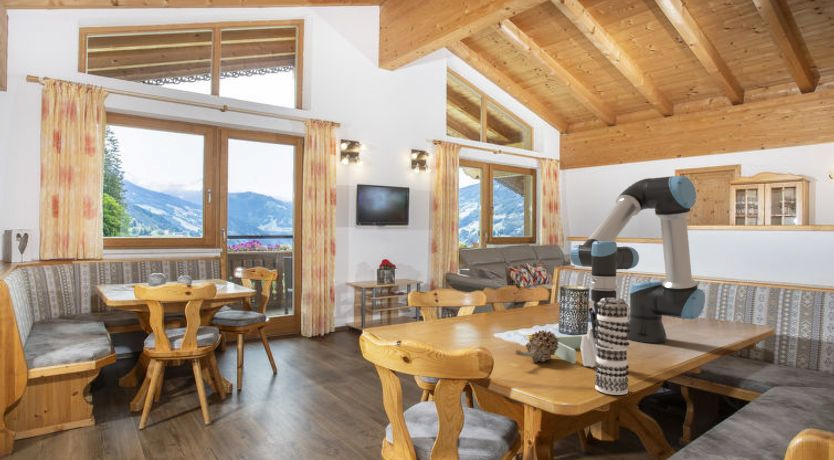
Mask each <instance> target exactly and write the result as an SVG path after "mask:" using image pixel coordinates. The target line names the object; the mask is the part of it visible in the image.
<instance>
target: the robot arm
mask: <svg viewBox="0 0 834 460" xmlns="http://www.w3.org/2000/svg"><path fill="white" fill-rule="evenodd" d="M696 199H697V192H696V187H695V184H694V183H693V182H692V180H691V179H690V178H689V177H687V176H684V175H683V176H681V175H678V176H677V175H672V176H662V177H650V178H649V177H648V178H644V179H640V180H638V181H635V182H634V183H632V184H631V185H629V186H628V187H627V188H625V189H624V190H623V191H622V192H621V193H620V194H619V195H618V197H617V198H616V199H615V205H614V206H613V208H612V207H611V208H612V209H610V211H609V212H608V214H606V216H605V217H604V218H603V219H602V221H601V222H600V223H599V224H598V226H597V227H596V228H595V230H594V231H593V232H592V233H591V235H589V237H588V238H587V240H585V242H584V243H583V244H576V245H574V246H572V247H571V250H570V252H569V259H570V262H572V264H573V265H574V266H577V267H579V266H580V267H584V268H585V267H586V268H587V267H588V268H591V280H590V281H591V286H590V287H591V288H592V289H591V292H590V300H591V302H593V306H592V307H589V308H588V312H589V315H590V323H591V329H592V331H593V337H594V338H596V336H595V333H596V331H595V327H597V325H596V324H595V323H594V322H595V320H596V318H597V314H598V304H597V303H599V302H600V300H601V299H602V298H617V290H616V289H617V286H618V285H617V271H618V270H629V269H633V268H635V267H636V266H638V264H639V261H640V255H639V253H638V251H637V249H635V248H634V247H631V246H624V245H623V246H618V244H617V242H616V241H615V240H616V239H617V237H618V236H619V234H621V232H622V230H623V229H624V228H625V227H626V225H628V223H629V222H630V220H631V219H632V218H633V217H634V216H637V215H638V214H639V213H640V212H641V211H643V210H649V209H650V210H651V209H652V210H654V211H655V212H654V213H655V216H657V218H659V220H660V228H661V229H660V230H661V231H660V232H661V240H662V248H663V249H662V250H663V259H664V260H663V261H664V270H665V271H664V272H665V280H664V281H663V282H662V281H641V282H633V283H632V284H631V285H630V290H629V297H630V298H629V303H630V304H629V319H628V323H629V324H630V327H628V329H629V330H630V332H629V333H627V336H628V337H629V338H630V339H629V340H631V341H635V342H641V343H650V344H660V343H661V344H662V343H666V342H667V336H668V335H667V333H666V329H665V327H664V323H663V316H664V317H669V318H670V317H671V318H677V319H681V320H696V319H698V318H699V317H700V316H701V314H702V312H703V310H704V308H705V304H706V303H705V302H706V295H705V292H704V290H703V289H701V288H698V283H697V281H695V280H694V279H693V278H692V268H691V267H692V266H691V255H690V245H689V233H688V223H687V221H688V219H687V216H688V215H689V214H690V213H691V208H693V207H694V206H695V205H696V203H697V202H696V201H697V200H696ZM597 323H598V322H597ZM596 340H597V338H596Z"/></svg>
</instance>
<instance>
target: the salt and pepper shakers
mask: <svg viewBox="0 0 834 460" xmlns="http://www.w3.org/2000/svg"><path fill="white" fill-rule="evenodd" d="M581 336H582V340H581V347H580V348H579V350H580V355H581V359H582V360H581V361H582V365H583V367H590V368H594V367H595V366H596V365H595V363H596V362H597V361H596V360H597V347H596V343H595V342H596V338H594V337H593V331H592V328H590V327H589V328H588V330H587V331H586V334H584V335H583V334H582V335H581Z"/></svg>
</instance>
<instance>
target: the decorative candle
mask: <svg viewBox="0 0 834 460" xmlns="http://www.w3.org/2000/svg"><path fill="white" fill-rule="evenodd" d="M597 304H598V314H597V318H596V320H595V322H594V323H595V324H596V325H597V327H595V331H596V333H595V336H596V338H597V340H596V342H595V343H596V347H597V360H596V361H597V362H596V363H595V365H594V366H596V367H595V369H594V370H595V372H596V373H595V375H594V379H595V381H594V384H595V386H594V388H595V390H596V391H598V392H601V393H602V394H606V395H615V396H623V395H627V394H628V393H629V390H628V388H629V384H628V383H629V377H628V376H629V371H628V370H629V365H628V358H627V356H628V353H627V352H628V350H629V349H630V348H629V346H630V342H628V341H629V340H630V338H629V337H628V336H627V333H629V332H630V330H629V329H628V327H630V324H629V316H628V307H629V304H627V303H626V301H625V300H624V299H623V298H621V297H620V298H619V297H616V298H602V299H601V300H600V302H599V303H597ZM597 322H598V323H597Z"/></svg>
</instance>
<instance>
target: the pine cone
mask: <svg viewBox="0 0 834 460" xmlns="http://www.w3.org/2000/svg"><path fill="white" fill-rule="evenodd" d="M556 337H558V336H556V335H555V332H554V333H553V332H552V330H548V332H547V330H538V332H537V331H535V332H534V333H531V337H529V339H528V342H527V343H526V344H525V347H526V350H527V351H526V352H525V351H522V350H520V349H519V350H518V349H515V350H514V355H516V356H520V357H531V359H532V361H533V362H535V363H536V364H537V363H538V362H540V363H543V362H546V360H547V361H548V360H550V359H552V356H556V355H555V353H556V351H555V350H557V349H558V348H559V347H558V346H557V345H558V344H559V343H558V341H559V339H557V338H556Z"/></svg>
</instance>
